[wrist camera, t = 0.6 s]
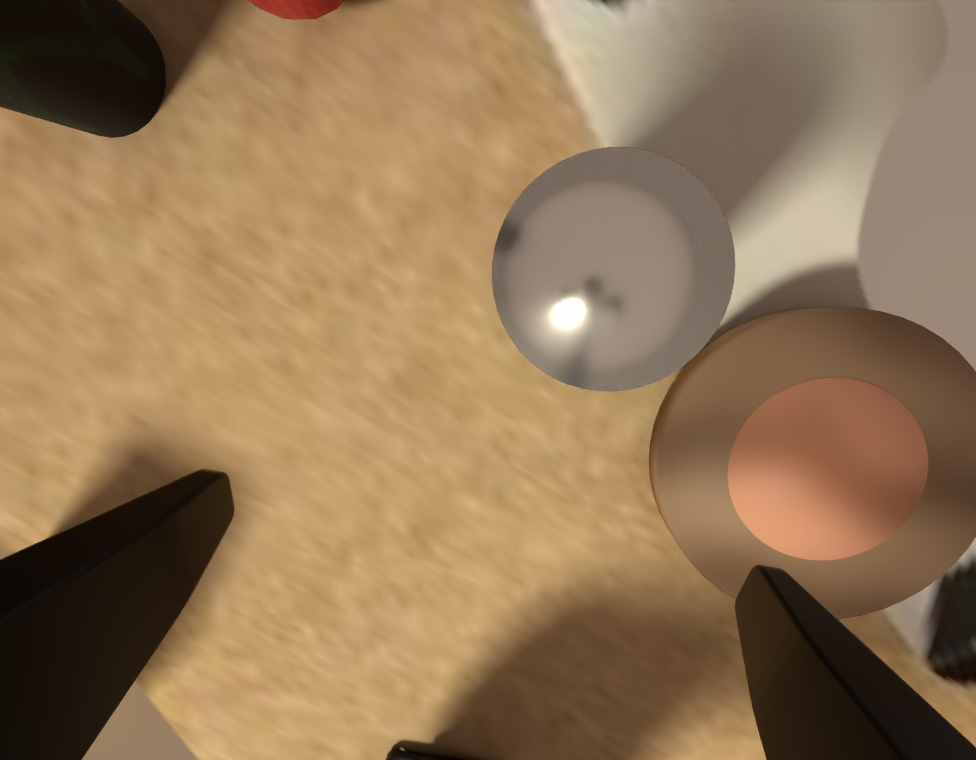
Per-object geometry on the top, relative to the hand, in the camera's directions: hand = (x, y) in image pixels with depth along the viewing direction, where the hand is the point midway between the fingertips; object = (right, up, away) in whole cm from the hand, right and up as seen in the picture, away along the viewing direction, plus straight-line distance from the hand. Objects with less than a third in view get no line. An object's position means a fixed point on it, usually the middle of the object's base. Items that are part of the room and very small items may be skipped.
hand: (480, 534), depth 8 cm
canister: (+4, +7, +14) cm, 16 cm away
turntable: (+14, -1, +14) cm, 20 cm away
